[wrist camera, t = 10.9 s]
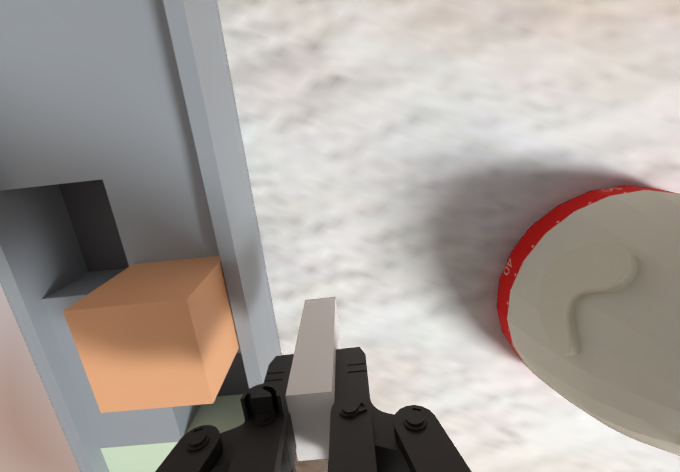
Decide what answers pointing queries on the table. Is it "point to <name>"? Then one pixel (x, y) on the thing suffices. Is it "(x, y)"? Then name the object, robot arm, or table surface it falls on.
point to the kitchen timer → (603, 308)
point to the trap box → (123, 196)
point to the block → (156, 335)
